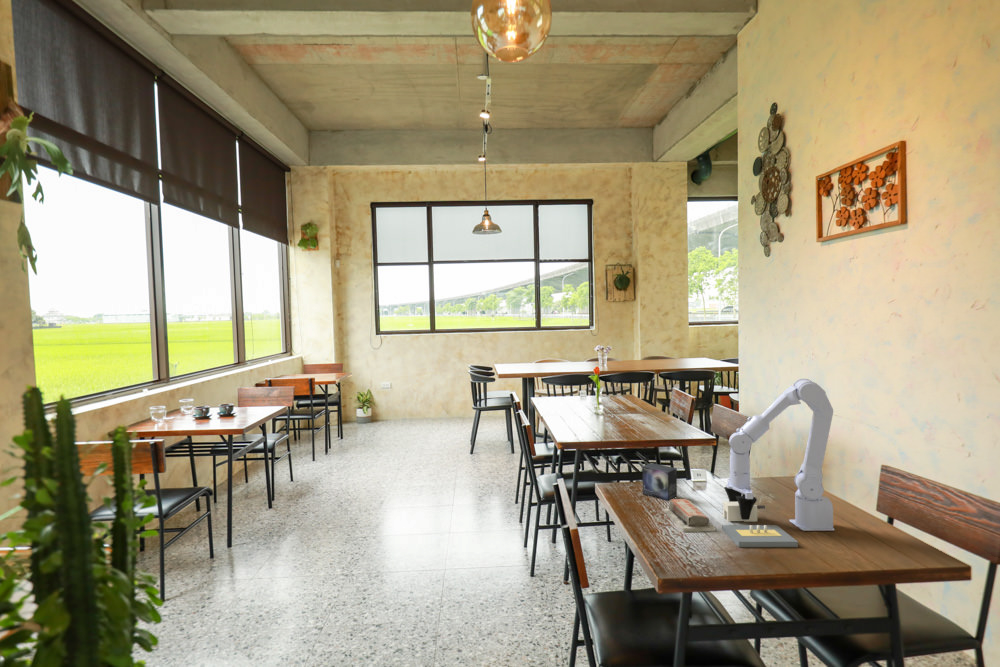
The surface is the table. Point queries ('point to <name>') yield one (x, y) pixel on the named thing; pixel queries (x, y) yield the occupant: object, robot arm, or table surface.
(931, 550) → the table surface
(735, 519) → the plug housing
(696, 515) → the packaged product
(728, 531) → the board
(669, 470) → the small box
